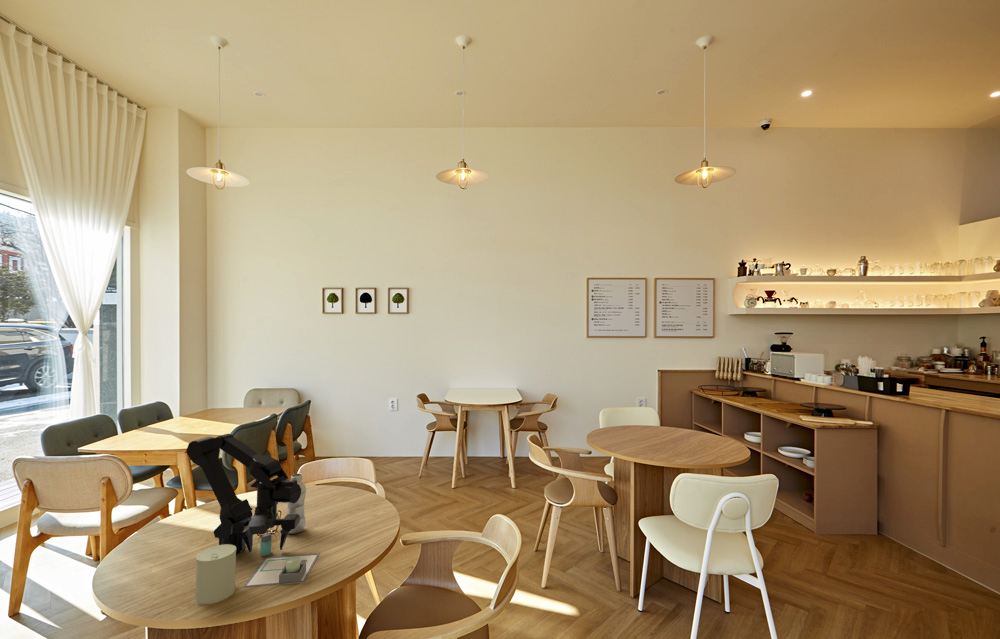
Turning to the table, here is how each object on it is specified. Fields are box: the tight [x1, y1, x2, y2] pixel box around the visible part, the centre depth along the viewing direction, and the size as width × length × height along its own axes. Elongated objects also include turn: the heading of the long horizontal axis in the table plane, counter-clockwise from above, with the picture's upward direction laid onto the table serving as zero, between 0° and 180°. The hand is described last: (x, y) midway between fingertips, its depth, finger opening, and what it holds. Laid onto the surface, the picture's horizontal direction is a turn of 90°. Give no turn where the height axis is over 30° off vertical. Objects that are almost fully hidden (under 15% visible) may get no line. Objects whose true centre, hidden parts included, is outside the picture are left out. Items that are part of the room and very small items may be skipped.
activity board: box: [242, 553, 320, 588], centre depth 127 cm, size 16×16×3 cm
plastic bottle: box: [286, 473, 307, 535], centre depth 153 cm, size 6×7×20 cm
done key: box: [286, 557, 300, 574], centre depth 122 cm, size 4×4×3 cm
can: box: [194, 544, 237, 606], centre depth 115 cm, size 9×9×12 cm
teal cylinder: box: [260, 533, 273, 557], centre depth 136 cm, size 3×3×6 cm
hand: (265, 550), depth 136 cm, fingers open, 9 cm apart
